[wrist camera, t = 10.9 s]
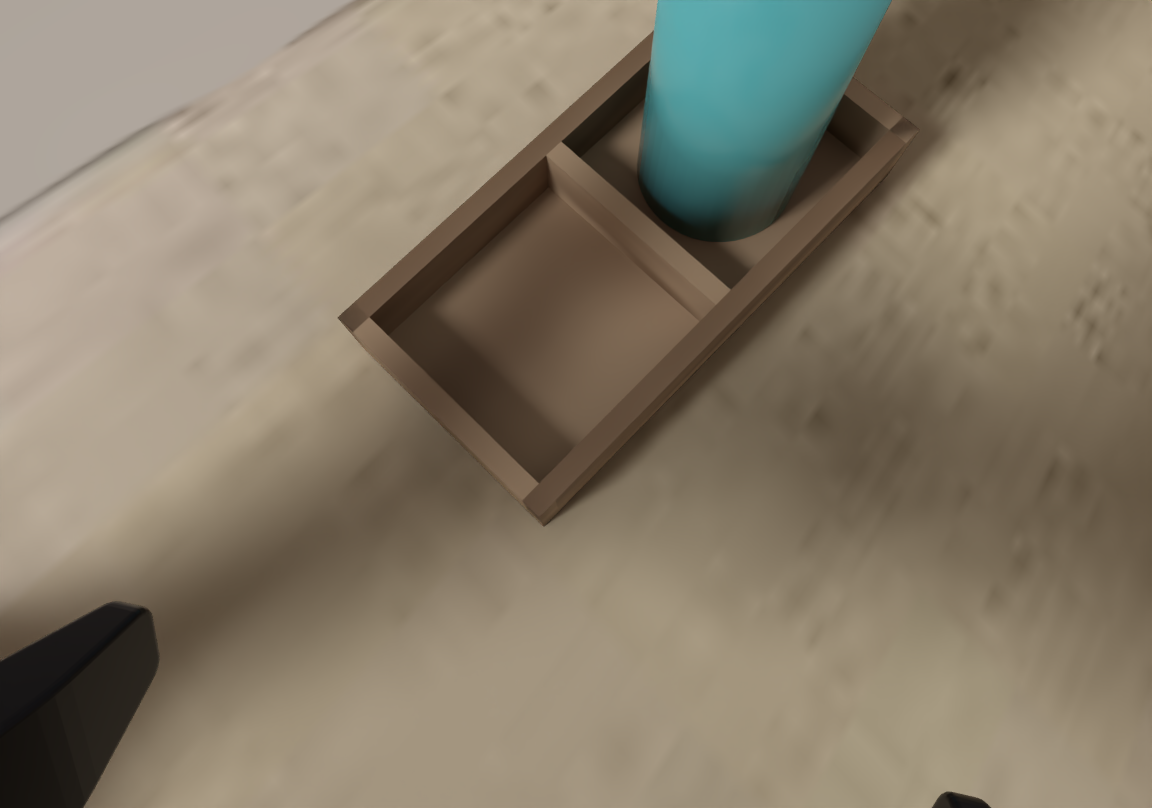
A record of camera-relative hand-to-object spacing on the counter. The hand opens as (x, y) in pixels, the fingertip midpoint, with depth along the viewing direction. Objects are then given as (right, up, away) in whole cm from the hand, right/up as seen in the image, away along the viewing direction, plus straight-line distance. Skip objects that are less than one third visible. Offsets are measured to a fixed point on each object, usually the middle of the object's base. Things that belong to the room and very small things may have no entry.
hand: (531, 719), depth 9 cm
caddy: (+2, +8, +16) cm, 18 cm away
